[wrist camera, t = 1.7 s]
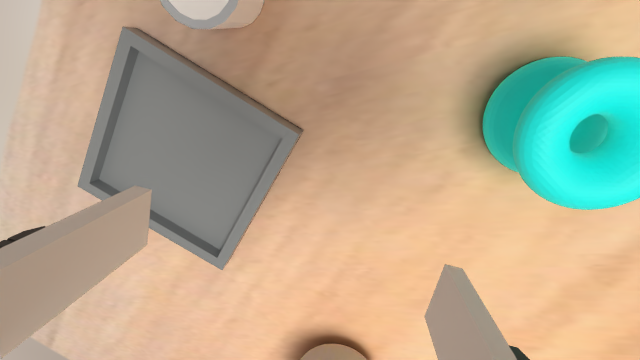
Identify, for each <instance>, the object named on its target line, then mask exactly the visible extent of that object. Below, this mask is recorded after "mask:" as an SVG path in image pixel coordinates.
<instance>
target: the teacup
mask: <svg viewBox="0 0 640 360" xmlns="http://www.w3.org/2000/svg"><path fill="white" fill-rule="evenodd" d="M300 360H367V359H366V358H365V357H364V356H363V355H362V354H360V353H359V352H358V351H356V350H354V349H352V348H350V347H348V346H345V345H340V344H323V345H319V346H316V347H314V348H312V349H311V350H309V351H308V352H307V353H306V354H304V356H303V357H302V358H301V359H300Z"/></svg>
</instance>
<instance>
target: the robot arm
mask: <svg viewBox="0 0 640 360" xmlns="http://www.w3.org/2000/svg"><path fill="white" fill-rule="evenodd" d="M151 193H152V190H151V189H147V188H143V187H139V186H133V187H131V188H129V189H127V190H124V191H122V192H120V193H118V194H116V195H114V196H112V197H109V198H107V199H105V200H103V201H101V202H99V203H97V204H94V205H92V206H90V207H88V208H86V209H84V210H81V211H79V212H77V213H75V214H73V215H71V216H69V217H66V218H64V219H62V220H60V221H58V222H56V223H54V224H51V225H49V226H47V227H45V226H43V227H39V228H35V229H31V230H27V231H23V232H21V233H19V234H17V235H14V236H12V237H10V238H8V239H7V240H3V241H1V242H0V359H2V358H3V357H4V356H5V355H7V354H8V353H9V352H11V351H12V350H13V349H15V348H16V347H17V346H18V345H20V344H21V343H22V342H23V341H25V340H26V339H27V338H29V337H30V336H31V335H32V334H34V333H35V332H36V331H38V330H39V329H40V328H41V327H43V326H44V325H45V324H46V323H48V322H49V321H50V320H52V319H53V318H54V317H55V316H57V315H58V314H59V313H61V312H62V311H63V310H64V309H66V308H67V307H68V306H70V305H71V304H72V303H73V302H75V301H76V300H77V299H78V298H80V297H81V296H82V295H84V294H85V293H86V292H87V291H89V290H90V289H91V288H93V287H94V286H95V285H96V284H98V283H99V282H100V281H101V280H103V279H104V278H105V277H107V276H108V275H109V274H110V273H112V272H113V271H114V270H116V269H117V268H118V267H119V266H121V265H122V264H123V263H124V262H126V261H127V260H128V259H130V258H131V257H132V256H133V255H135V254H136V253H137V252H139V251H140V250H141V249H142V248H144V247H145V246H146V245H147V241H148V229H149V217H150V205H151ZM425 319H426V323H427V326H428V329H429V332H430V335H431V338H432V342H433V345H434V348H435V351H436V354H437V358H438V360H530V359H529V358H528V357H527V356H526V355H525V354H524V353H522V352H521V351H520V350H519V349H518V348H517V347H513V346H509V345H508V344H507V342H506V340H505V339H504V337H503V335H502V334H501V332H500V330H499V329H498V327H497V325H496V324H495V322H494V320H493V319H492V317H491V315H490V314H489V312H488V310H487V309H486V307H485V305H484V304H483V302H482V300H481V299H480V297H479V295H478V294H477V292H476V290H475V289H474V287H473V285H472V284H471V282H470V280H469V279H468V277H467V275H466V274H465V272H464V270H463V269H462V268H458V267H454V266H450V265H446V264H445V266H444V268H443V271H442V273H441V276H440V278H439V281H438V283H437V286H436V288H435V291H434V294H433V296H432V299H431V301H430V304H429V306H428V309H427V311H426V314H425Z"/></svg>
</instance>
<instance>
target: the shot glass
mask: <svg viewBox="0 0 640 360" xmlns="http://www.w3.org/2000/svg"><path fill="white" fill-rule="evenodd" d="M160 1H161V3H162V6H163V7H164V8H165V9H166V10H167V11H168V13H169V14H170V15H171V16H172V17H173V18H174V19H175V20H176V21H178V22H180V23H182V24H184V25H186V26H188V27H190V28H192V29H226V28H242V27H245V26H247V25H249V24H251V23H253V21H254V20H255V19H256V18H257V17H258V16H259V14H260V12H261V9H262V6H263V3H264V0H160Z"/></svg>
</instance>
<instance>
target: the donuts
mask: <svg viewBox="0 0 640 360" xmlns="http://www.w3.org/2000/svg"><path fill="white" fill-rule="evenodd" d="M483 135H484V139H485V142H486V145H487V147H488V149H489V151H490V152H491V154H492V155H493V156H494V157H495V158H496V159H497V160H498V161H499V162H500V163H501V164H502V165H504V166H505V167H507V168H509V169H511V170H513V171H516V172H519V174H520V176H521V177H522V179H523V180H524V182H525V183H526V184H527V185H528V186H529V187H530V188H531V189H532V190H533V191H534V192H535V193H536V194H538V195H539V196H541V197H542V198H544V199H546V200H548V201H550V202H552V203H554V204H557V205H560V206H564V207H568V208H573V209H583V210H593V209H604V208H610V207H615V206H619V205H623V204H626V203H628V202H631V201H634V200H636V199H638V198H640V58H637V57H608V58H601V59H597V60H593V61H589V62H587V61H585V60H582V59H578V58H573V57H549V58H544V59H540V60H537V61H534V62H531V63H529V64H527V65H525V66H523V67H521V68H519V69H518V70H516V71H514V72H513V73H512V74H510V75H509V76H508V77H507V78H506V79H504V80H503V81H502V82H501V83H500V85H499V86H498V87H497V88H496V89H495V91H494V92H493V94H492V95H491V97H490V99H489V101H488V103H487V106H486V108H485V112H484V116H483Z"/></svg>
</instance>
